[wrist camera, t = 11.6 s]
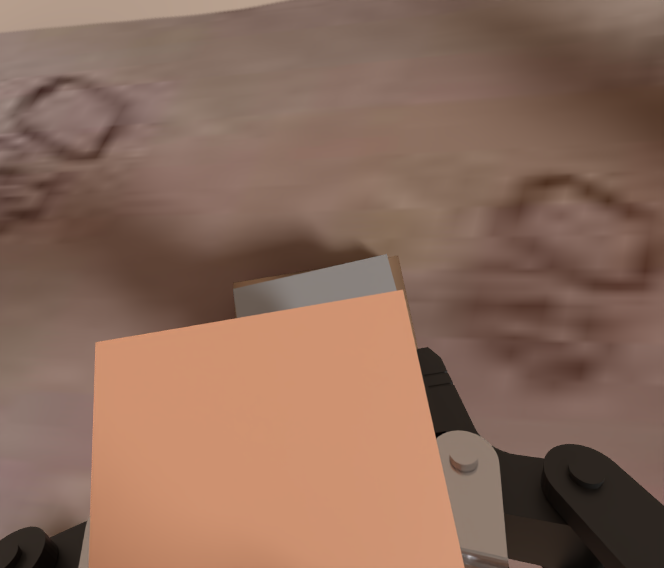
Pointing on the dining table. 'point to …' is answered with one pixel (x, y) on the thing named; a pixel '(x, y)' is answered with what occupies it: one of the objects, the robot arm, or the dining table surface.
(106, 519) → the terracotta pillar
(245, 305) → the gray middle slab
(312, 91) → the dining table surface
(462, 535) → the robot arm
